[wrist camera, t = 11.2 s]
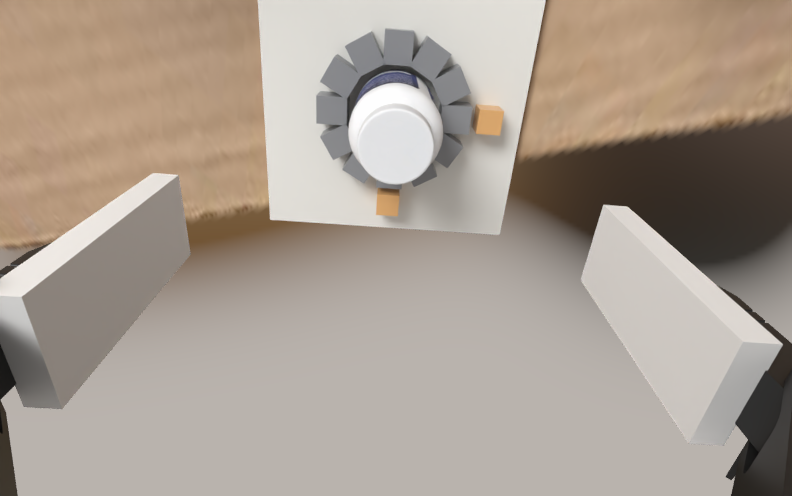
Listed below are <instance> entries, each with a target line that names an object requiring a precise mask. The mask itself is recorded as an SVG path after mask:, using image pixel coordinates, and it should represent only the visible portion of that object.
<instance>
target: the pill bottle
mask: <svg viewBox="0 0 792 496" xmlns="http://www.w3.org/2000/svg"><path fill="white" fill-rule="evenodd" d="M348 136H349V142H350V146H351V149H352V152H353V154H354V156H355V157H356V159H357V160H358V162H359V163H360V164H361V165H362V166H363V168H364V169H365V170H366V172H367V173H368V174H369V175H371V176H372V177H373V178H375V179H376V180H378V181H380V182H383V183H386V184H393V185H398V184H405V183H408V182H411V181H413V180H415V179H417V178H418V177H420V176H421V175H422V174H423V173H424V172H425V171H426V169H427V168H428V166H429V165H430V164H431V163H432V162H433V161H434V159H435V158H436V156H437V154H438V152H439V150H440V147H441V144H442V140H443V124H442V119H441V115H440V113H439V110H438V108H437V105H436V103H435V100H434V97H433V95H432V93H431V91H430V89H429V88H428V86H427V85H426V84H425V83H424V81H423V80H421V79H420V78H419V77H418V76H416V75H415V74H413V73H411V72H408V71H405V70H400V69H390V70H385V71H382V72H380V73H378V74H376V75H374V76H373V77H371V78H370V79H369V80H368V81H367V82H366V83H365V85H364V86H363V88H362V89H361V91H360V93H359V96H358V98H357V101H356V104H355V106H354V109H353V111H352V114H351V118H350V122H349V129H348Z"/></svg>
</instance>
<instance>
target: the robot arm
mask: <svg viewBox="0 0 792 496" xmlns="http://www.w3.org/2000/svg"><path fill="white" fill-rule="evenodd" d="M189 255H190V248H189V241H188V234H187V228H186V221H185V214H184V208H183V201H182V195H181V188H180V181H179V175H172V174H158V173H153V174H151V175H150V176H148V177H147V178H145V179H144V180H142V181H141V182H139V183H138V184H137V185H135V186H134V187H132V188H131V189H129V190H128V191H126V192H125V193H124V194H122V195H121V196H119V197H118V198H116V199H115V200H113V201H112V202H110V203H109V204H108V205H106V206H105V207H103V208H102V209H100V210H99V211H97V212H96V213H94V214H93V215H92V216H90V217H89V218H87V219H86V220H84V221H83V222H81V223H80V224H79V225H77V226H76V227H74V228H73V229H71V230H70V231H68V232H67V233H65V234H64V235H63V236H61V237H60V238H58V239H57V240H55V241H54V242H52V243H49V244H47V245H44V246H42V247H39V248H37V249H34V250H32V251H29V252H27V253H26V254H24V255H23V256H21V257H20V258H18V259H17V260H15V261H14V262H12V263H11V265H10V266H6V267H5V268H3V269H2V270H0V399H1V398H2V397H3V396H4V395H6V393H7V392H9V390H10V389H12V387H14V386H15V387H16V389H17V391H18V394H19V396H20V398H21V401H22V403H23V406H24V407H35V408H53V409H63V407H64V406H65V405H66V404H67V403H68V401H69V400H70V399H71V398H72V396H73V395H74V394H75V393H76V392H77V390H78V389H79V388H80V387H81V386H82V384H83V383H84V382H85V381H86V380H87V378H88V377H89V376H90V375H91V374H92V372H93V371H94V370H95V369H96V368H97V366H98V365H99V364H100V363H101V362H102V360H103V359H104V358H105V357H106V356H107V354H108V353H109V352H110V351H111V350H112V348H113V347H114V346H115V345H116V343H117V342H118V341H119V340H120V339H121V337H122V336H123V335H124V334H125V333H126V331H127V330H128V329H129V328H130V327H131V326H132V324H133V323H134V322H135V321H136V320H137V318H138V317H139V316H140V315H141V313H142V312H143V311H144V310H145V309H146V307H147V306H148V305H149V304H150V303H151V301H152V300H153V299H154V298H155V297H156V295H157V294H158V293H159V292H160V291H161V289H162V288H163V287H164V286H165V285H166V283H167V282H168V281H169V280H170V279H171V277H172V276H173V275H174V274H175V273H176V271H177V270H178V269H179V268H180V266H181V265H182V264H183V263H184V262H185V261H186V259H187V258H188V257H189ZM581 281H582V282H583V284H584V286H585V287H586V289H587V290H588V292H589V293H590V295H591V296H592V298H593V299H594V301H595V302H596V304H597V306H598V307H599V309H600V310H601V312H602V313H603V315H604V316H605V318H606V319H607V321H608V322H609V324H610V325H611V327H612V328H613V330H614V331H615V333H616V334H617V336H618V337H619V339H620V340H621V342H622V343H623V345H624V346H625V348H626V349H627V351H628V353H629V354H630V356H631V357H632V359H633V360H634V362H635V363H636V364H637V366H638V368H639V369H640V371H641V372H642V374H643V375H644V377H645V378H646V380H647V381H648V383H649V384H650V386H651V387H652V389H653V390H654V392H655V393H656V395H657V397H658V398H659V399H660V401H661V403H662V404H663V406H664V407H665V409H666V410H667V412H668V413H669V415H670V416H671V418H672V419H673V421H674V422H675V424H676V425H677V427H678V428H679V430H680V431H681V433H682V434H683V436H684V437H685V439H686V441H687V442H688V443H689V444H701V445H719V446H724V444H725V443H726V441H727V439H728V438H729V436H730V434H731V433H732V431H733V429H734V427H735V426H736V425H737V426H738V427H739V429H740V430H741V431H742V432H743V434H744V435H745V436H746V437H747V439H748V441H747V443H746V444H745V446H744V448H743V449H742V451H741V453H740V454H739V456H738V457H737V459H736V461H735V462H734V464H733V465H732V467H731V469H730V470H729V472H728V474H727V475H726V477H727V478H729V479H730V480H732V479H733V478H734V477H735V480H734V485H733V489H732V494H731V496H792V344H791V343H790V342H789V341H788V340H787V339H786V338H784V337H783V336H782V335H781V334H780V333H779V332H778V331H776V330H775V329H774V328H773V327H772V326H771V325H770V324H768V323H765V320H764V319H763V318H761V317H760V316H759V315H758V314H757V313H755V312H752V309H751V308H750V307H749V306H748V305H746V304H745V303H744V302H743V301H742V300H741V299H740V298H738V297H737V296H735V295H733V294H732V293H730V292H728V291H726V290H725V289H723V288H721V287H719V286H717V285H715V284H714V283H713V282H712V281H711V280H710V279H709V278H707V277H706V276H705V275H704V274H703V273H702V272H701V271H700V270H698V269H697V268H696V267H695V266H694V265H693V264H691V263H690V262H689V261H688V260H687V259H686V258H685V257H684V256H683V255H682V254H680V253H679V252H678V251H677V250H676V249H675V248H674V247H672V246H671V245H670V244H669V243H668V242H667V241H666V240H665V239H663V238H662V237H661V236H660V235H659V234H658V233H657V232H656V231H654V230H653V229H652V228H651V227H650V226H649V225H648V224H647V223H645V222H644V221H643V220H642V219H641V218H639V216H637V215H636V214H635V213H634V212H633V211H632V210H631V209H630V208H628V207H625V206H609V205H603V208H602V212H601V215H600V218H599V221H598V225H597V228H596V231H595V235H594V238H593V241H592V244H591V248H590V251H589V254H588V257H587V261H586V264H585V267H584V271H583V274H582V277H581ZM0 496H18V495H17V488H16V482H15V474H14V467H13V460H12V453H11V446H10V438H9V431H8V424H7V417H6V412H5V409H4V407H3V405H2V403H1V400H0Z"/></svg>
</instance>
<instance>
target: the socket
mask: <svg viewBox="0 0 792 496" xmlns="http://www.w3.org/2000/svg"><path fill="white" fill-rule="evenodd" d="M545 2H546V0H258V11H259V29H260V46H261V64H262V82H263V99H264V117H265V135H266V152H267V170H268V188H269V205H270V219H271V220H283V221H296V222H311V223H326V224H341V225H356V226H370V227H385V228H400V229H415V230H430V231H445V232H459V233H474V234H489V235H500V231H501V226H502V221H503V216H504V211H505V205H506V201H507V196H508V190H509V185H510V181H511V175H512V170H513V165H514V160H515V155H516V150H517V145H518V140H519V135H520V129H521V124H522V119H523V114H524V109H525V104H526V99H527V94H528V89H529V83H530V78H531V73H532V68H533V63H534V58H535V53H536V48H537V43H538V37H539V32H540V27H541V22H542V17H543V12H544V7H545ZM390 69H400V70H405V71H408V72H411V73H413V74H415V75H416V76H418V77H419V78H420V79H421V80H423V81H424V83H425V84H426V85H427V86H428V88H429V89H430V91H431V93H432V95H433V97H434V100H435V103H436V105H437V108H438V110H439V113H440V115H441V119H442V124H443V140H442V144H441V147H440V150H439V152H438V154H437V156H436V158H435V159H434V161H433V162H432V163H431V164H430V165H429V166H428V168H427V169H426V171H425V172H424V173H423V174H422V175H421V176H420V177H418V178H417V179H415V180H413V181H411V182H408V183H405V184H398V185H393V184H386V183H383V182H380V181H378V180H376V179H375V178H373V177H372V176H371V175H369V174H368V173H367V172H366V170H365V169H364V168H363V166H362V165H361V164H360V163H359V162H358V160H357V159H356V157H355V156H354V154H353V152H352V149H351V146H350V142H349V136H348V129H349V122H350V118H351V114H352V111H353V109H354V106H355V104H356V101H357V98H358V96H359V93H360V91H361V89H362V88H363V86H364V85H365V83H366V82H367V81H368V80H369V79H370V78H371V77H373V76H374V75H376V74H378V73H380V72H382V71H385V70H390Z"/></svg>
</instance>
